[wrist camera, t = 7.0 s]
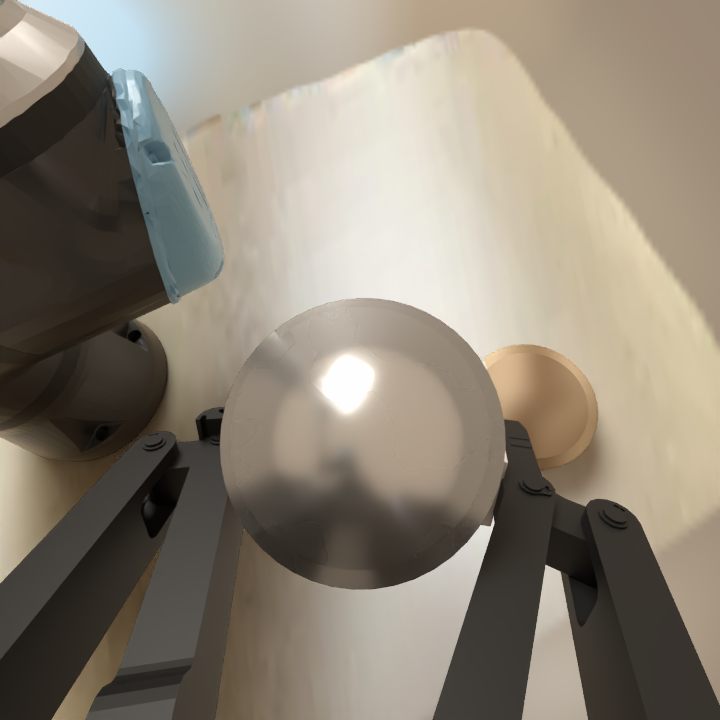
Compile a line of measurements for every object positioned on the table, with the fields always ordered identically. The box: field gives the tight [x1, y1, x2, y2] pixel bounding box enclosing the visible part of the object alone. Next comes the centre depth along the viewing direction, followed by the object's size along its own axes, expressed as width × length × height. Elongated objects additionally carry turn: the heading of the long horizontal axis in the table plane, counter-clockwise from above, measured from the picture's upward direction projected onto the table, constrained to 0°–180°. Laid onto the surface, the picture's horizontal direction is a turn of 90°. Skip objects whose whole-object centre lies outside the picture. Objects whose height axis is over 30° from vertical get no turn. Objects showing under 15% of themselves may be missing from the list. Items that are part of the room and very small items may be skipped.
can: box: [220, 298, 506, 589], centre depth 14 cm, size 7×7×12 cm
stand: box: [482, 345, 598, 470], centre depth 31 cm, size 10×10×3 cm
